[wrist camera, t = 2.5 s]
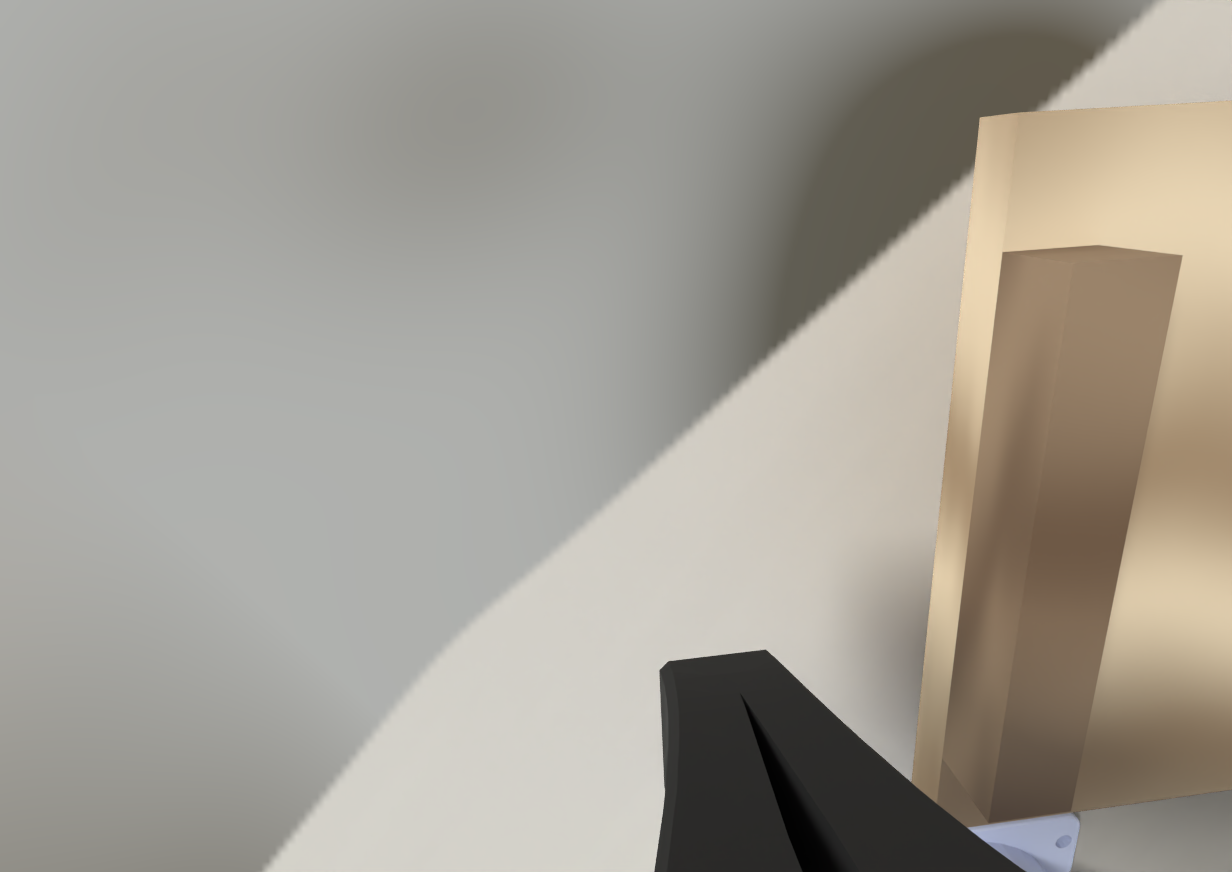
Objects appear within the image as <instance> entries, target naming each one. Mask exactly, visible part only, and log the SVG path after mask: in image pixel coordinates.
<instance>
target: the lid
mask: <svg viewBox="0 0 1232 872" xmlns="http://www.w3.org/2000/svg"><path fill="white" fill-rule="evenodd" d="M912 783H913V784H914V785H915V786H916V787H917V788H919V789H920V790H921V791H922V792H923V793H925V794H926V795H927V796H928V797H929V798H931V799H932V800H933V801H934V802H935V803H937V804H938V805H939V806H940V807H942V808H943V809H944V810H945V811H947V812H948V813H949V814H951V815H952V816H953V817H954V818H956V819H957V820H958V821H959V822H961V823H962V824H963V825H964V826H966V827H967V828H968V827H975V826H982V825H989V824H996V823H1003V822H1010V821H1017V820H1024V819H1031V818H1038V817H1045V816H1052V815H1059V814H1066V813H1073V812H1080V811H1087V810H1094V809H1101V808H1108V807H1115V806H1122V805H1129V804H1136V803H1143V802H1150V801H1156V800H1163V799H1170V798H1177V797H1184V796H1191V795H1198V794H1205V793H1212V792H1219V791H1226V790H1232V101H1218V102H1200V103H1182V104H1164V105H1146V106H1129V107H1111V108H1093V109H1075V110H1057V111H1039V112H1024V113H1023V112H1022V113H1012V114H1005V115H997V116H989V117H981V118H980V123H979V132H978V141H977V152H976V161H975V171H974V180H973V190H972V200H971V209H970V219H969V229H968V239H967V248H966V258H965V268H964V277H963V287H962V297H961V307H960V316H959V326H958V336H957V346H956V355H955V365H954V375H953V384H952V394H951V404H950V414H949V423H948V433H947V443H946V452H945V462H944V472H943V482H942V491H941V501H940V511H939V520H938V530H937V540H936V550H935V559H934V569H933V579H932V588H931V598H930V608H929V618H928V627H927V637H926V647H925V656H924V666H923V676H922V686H921V695H920V705H919V715H918V724H917V734H916V744H915V754H914V763H913V773H912Z"/></svg>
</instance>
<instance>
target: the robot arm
mask: <svg viewBox="0 0 1232 872" xmlns="http://www.w3.org/2000/svg"><path fill="white" fill-rule="evenodd" d="M660 693H661V716H662V740H663V763H664V786H665V800H664V809H663V817H662V823H661V830H660V837H659V844H658V851H657V858H656V865H655V872H1071V867H1072V862H1073V858H1074V853H1075V848H1076V843H1077V838H1078V834H1079V829H1080V821H1079V820H1078V818H1077V817H1076V816H1075V815H1074V814H1073V813H1066V814H1059V815H1052V816H1045V817H1038V818H1031V819H1024V820H1017V821H1010V822H1003V823H996V824H989V825H982V826H975V827H968V828H967V827H966V826H964V825H963V824H962V823H961V822H959V821H958V820H957V819H956V818H954V817H953V816H952V815H951V814H949V813H948V812H947V811H945V810H944V809H943V808H942V807H940V806H939V805H938V804H937V803H935V802H934V801H933V800H932V799H931V798H929V797H928V796H927V795H926V794H925V793H923V792H922V791H921V790H920V789H919V788H917V787H916V786H915V785H914V784H913V783H911V782H910V781H909V780H908V779H907V778H905V777H904V776H903V775H902V774H901V773H900V772H898V771H897V770H896V769H895V768H894V767H893V766H892V765H890V764H889V763H888V762H887V761H886V760H885V759H884V758H882V757H881V756H880V755H879V754H878V753H877V752H876V751H874V750H873V749H872V748H871V747H870V746H869V745H868V744H866V743H865V742H864V741H863V740H862V739H861V738H860V737H858V736H857V735H856V734H855V733H854V732H853V731H852V730H851V729H850V728H849V727H847V726H846V725H845V724H844V723H843V722H842V721H841V720H840V719H839V718H838V717H837V716H836V715H835V714H833V713H832V712H831V711H830V710H829V709H828V708H827V707H826V706H825V705H824V704H823V703H822V702H821V701H820V700H818V699H817V698H816V697H815V696H814V695H813V694H812V693H811V692H810V691H809V690H808V689H807V688H806V687H805V686H804V685H803V684H802V683H801V682H800V681H799V680H798V679H797V678H796V677H794V676H793V675H792V674H791V673H790V672H789V671H788V670H787V669H786V668H785V667H784V666H783V665H782V664H781V663H780V662H779V661H778V660H777V659H776V658H775V657H774V656H772V655H771V654H770V653H769V652H768V651H767V650H760V651H751V652H743V653H735V654H726V655H718V656H710V657H701V658H693V659H684V660H676V661H668V662H667V663H666V664H665V665H664V666H663V667H662V668H661V669H660Z"/></svg>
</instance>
